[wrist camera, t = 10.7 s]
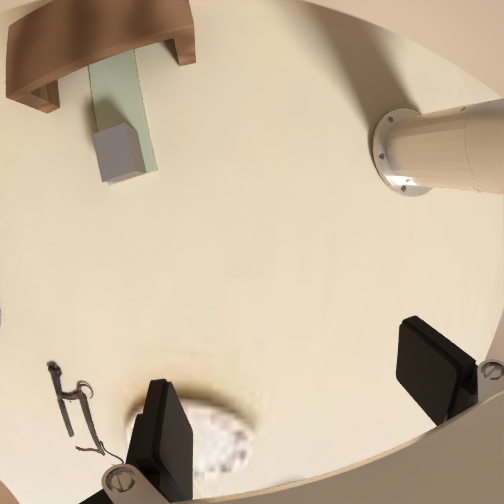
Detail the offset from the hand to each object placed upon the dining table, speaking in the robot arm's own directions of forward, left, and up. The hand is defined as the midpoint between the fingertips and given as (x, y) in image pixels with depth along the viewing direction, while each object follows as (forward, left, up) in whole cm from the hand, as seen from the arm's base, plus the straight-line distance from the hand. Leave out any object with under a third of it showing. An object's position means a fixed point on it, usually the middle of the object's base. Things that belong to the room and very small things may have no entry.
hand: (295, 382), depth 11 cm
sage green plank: (+9, -22, -27) cm, 36 cm away
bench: (+9, -28, -27) cm, 40 cm away
